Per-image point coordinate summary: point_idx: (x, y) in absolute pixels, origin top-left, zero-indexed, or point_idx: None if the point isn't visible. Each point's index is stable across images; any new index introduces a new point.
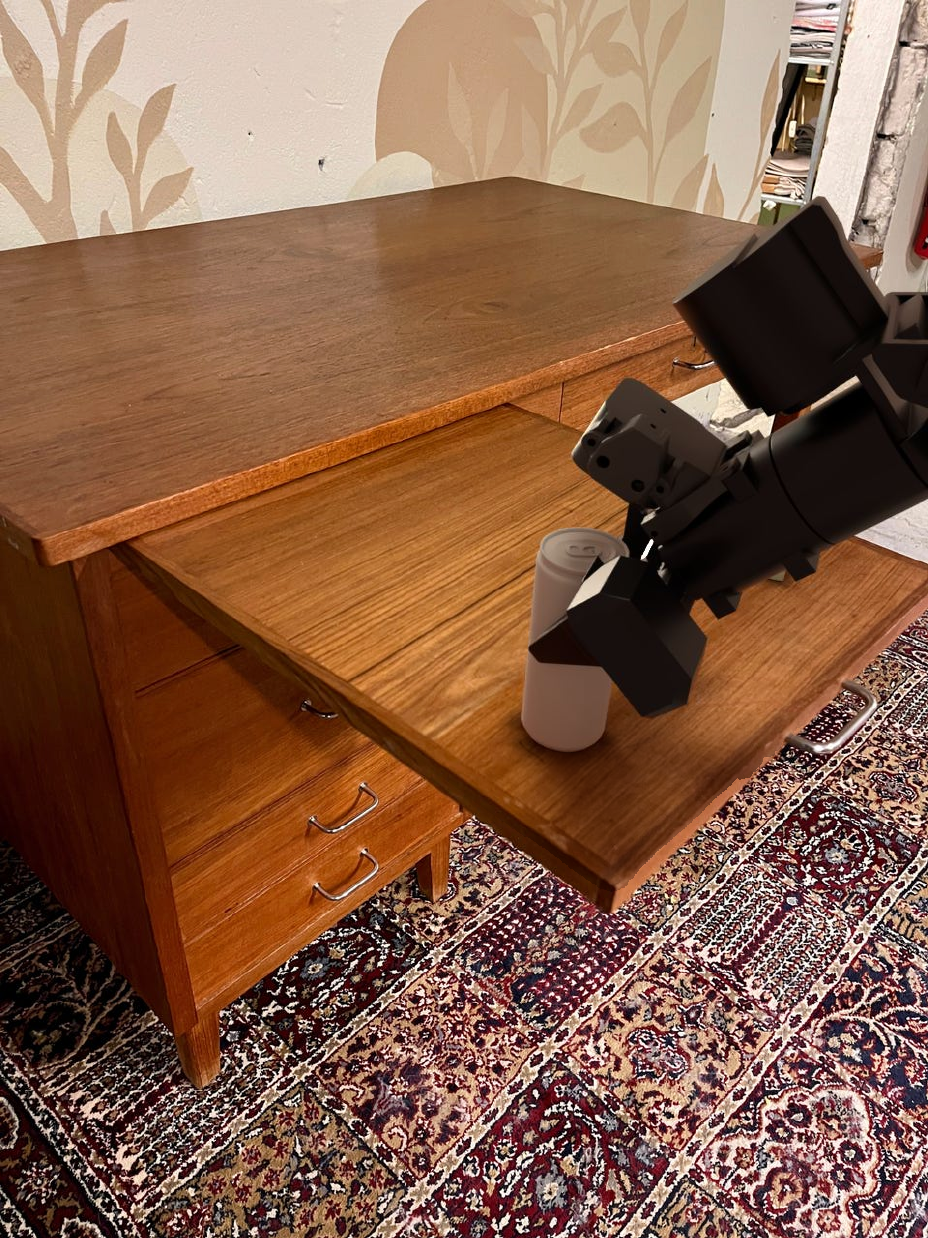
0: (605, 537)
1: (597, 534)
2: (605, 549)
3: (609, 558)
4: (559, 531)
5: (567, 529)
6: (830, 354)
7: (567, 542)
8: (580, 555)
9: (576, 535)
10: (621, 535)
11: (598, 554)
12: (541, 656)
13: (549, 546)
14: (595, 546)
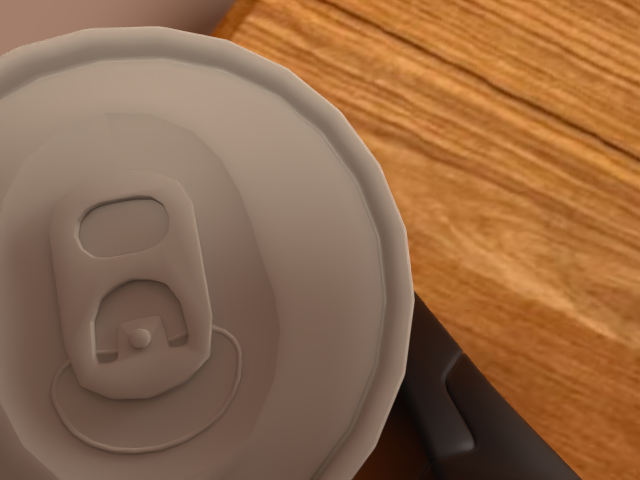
0: (355, 395)
1: (384, 338)
2: (202, 416)
3: (77, 462)
4: (318, 112)
5: (357, 153)
6: None
7: (211, 174)
8: (56, 270)
9: (319, 215)
10: (543, 454)
11: (88, 384)
12: None
13: (136, 81)
14: (198, 349)
